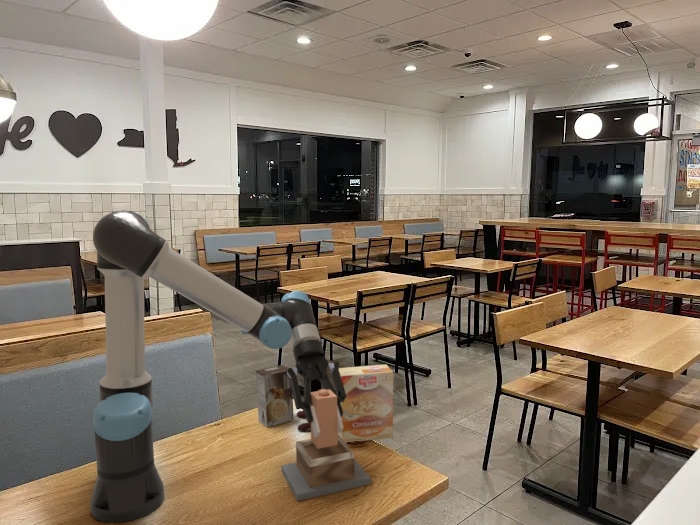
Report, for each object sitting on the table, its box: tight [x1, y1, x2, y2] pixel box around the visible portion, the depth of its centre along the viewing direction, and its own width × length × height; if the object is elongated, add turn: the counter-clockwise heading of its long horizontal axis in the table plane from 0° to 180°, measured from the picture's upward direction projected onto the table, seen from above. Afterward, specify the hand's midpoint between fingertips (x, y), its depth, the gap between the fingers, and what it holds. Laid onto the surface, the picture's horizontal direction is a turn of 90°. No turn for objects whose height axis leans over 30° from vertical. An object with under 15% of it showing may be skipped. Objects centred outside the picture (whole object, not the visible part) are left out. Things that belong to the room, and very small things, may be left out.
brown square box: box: [295, 435, 355, 488], centre depth 127 cm, size 11×11×6 cm
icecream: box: [296, 410, 311, 432], centre depth 153 cm, size 7×7×15 cm
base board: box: [280, 458, 372, 502], centre depth 127 cm, size 18×14×2 cm
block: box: [310, 388, 338, 449], centre depth 125 cm, size 5×5×13 cm
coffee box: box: [255, 364, 295, 428], centre depth 159 cm, size 9×6×16 cm
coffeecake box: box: [338, 364, 394, 444], centre depth 148 cm, size 15×7×20 cm, turn 103°
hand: (329, 432), depth 122 cm, fingers closed on block, 5 cm apart
